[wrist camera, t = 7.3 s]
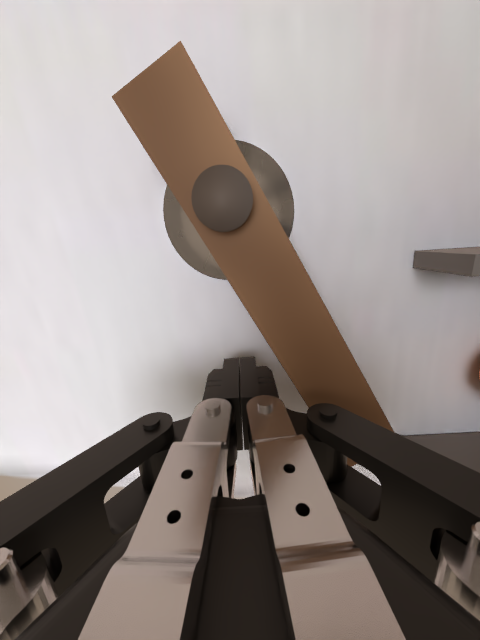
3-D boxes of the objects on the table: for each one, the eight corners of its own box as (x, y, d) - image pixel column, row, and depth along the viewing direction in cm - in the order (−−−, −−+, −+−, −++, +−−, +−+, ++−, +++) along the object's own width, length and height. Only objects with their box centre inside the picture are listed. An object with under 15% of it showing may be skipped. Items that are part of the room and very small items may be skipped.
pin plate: (292, 136, 12) (293, 134, 11) (293, 275, 13) (294, 275, 13) (155, 146, 12) (154, 144, 12) (173, 282, 13) (172, 283, 13)
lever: (201, 109, 11) (175, 24, 7) (359, 391, 15) (409, 454, 10) (154, 144, 11) (101, 84, 7) (320, 411, 15) (352, 480, 11)
